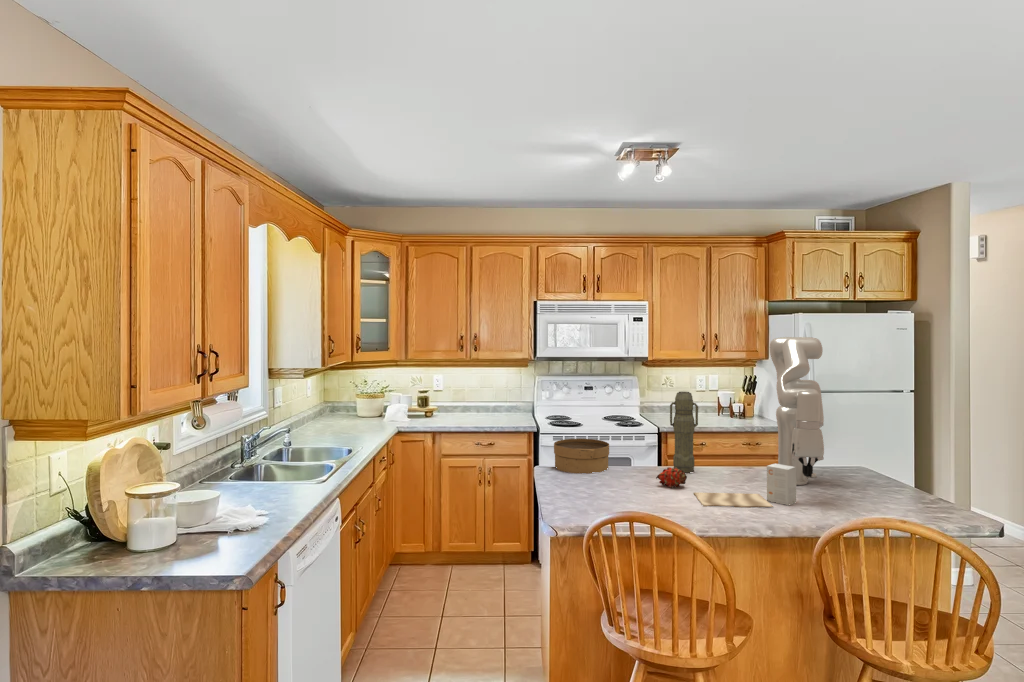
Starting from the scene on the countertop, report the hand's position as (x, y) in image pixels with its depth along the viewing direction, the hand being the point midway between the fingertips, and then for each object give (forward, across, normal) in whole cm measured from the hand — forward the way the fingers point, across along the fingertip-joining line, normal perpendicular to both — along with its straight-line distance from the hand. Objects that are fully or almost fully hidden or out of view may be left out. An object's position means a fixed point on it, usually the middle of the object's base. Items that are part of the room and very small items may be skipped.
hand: (807, 475), depth 217 cm
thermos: (+10, +35, -45) cm, 58 cm away
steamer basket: (+10, +79, -50) cm, 95 cm away
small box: (+10, +9, 0) cm, 13 cm away
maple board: (+10, +26, 0) cm, 28 cm away
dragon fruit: (+10, +45, -18) cm, 49 cm away
